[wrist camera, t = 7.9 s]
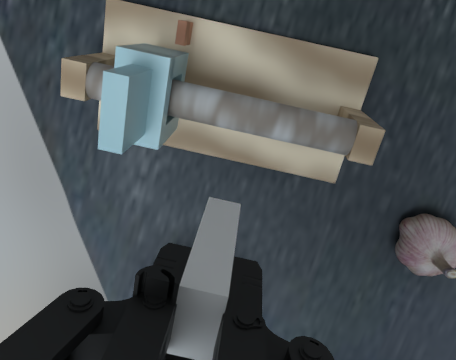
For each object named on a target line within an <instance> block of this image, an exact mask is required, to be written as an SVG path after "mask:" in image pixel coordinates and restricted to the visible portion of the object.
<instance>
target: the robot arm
mask: <svg viewBox="0 0 456 360" xmlns="http://www.w3.org/2000/svg"><path fill="white" fill-rule="evenodd" d="M240 207H241V204H239V203H234V202H230V201H225V200H221V199H217V198H212V197H209V199H208V202H207V205H206V208H205V211H204V214H203V217H202V220H201V223H200V226H199V229H198V232H197V235H196V238H195V241H194V244H193V247H192V248H190V247H186V246H181V245H177V244H172V243H168V244H167V245H165V246H164V247H163V248H161V249H160V251H159V253H158V256H157V258H156V260H155V262H154V264H153V266H148V267H145V268H143V269H141V270H139V271H138V272H137V274H136V276H135V283H134V291H133V297H131V298H129V299H126V300H122V301H104V298H103V296H102V295H101V294H100V293H99V292H97V291H96V290H93V289H90V288H76V289H72V290H69V291H67V292H65V293H63V294H62V295H60V296H59V297H58V298H57V299H55V300H54V301H53V302H51V303H50V304H49V305H48V306H47V307H45V308H44V309H43V310H42V311H40V312H39V313H38V314H37V315H35V316H34V317H33V318H32V319H30V320H29V321H28V322H26V323H25V324H24V325H23V326H22V327H20V328H19V329H18V330H16V331H15V332H14V333H13V334H11V335H10V336H9V337H8V338H7V339H5V340H4V341H3V342H2V343H0V360H165V355H166V352H167V353H168V354H172V355H176V356H181V357H185V358H189V359H194V360H334V358H333V356H332V354H331V353H330V351H329V350H328V348H327V347H326V346H324V345H323V344H322V343H321V342H319V341H317V340H315V339H313V338H311V337H305V336H300V337H296V338H294V339H293V340H291V342H288V341H286V340H284V339H282V338H280V337H278V336H277V335H275V334H274V333H272V332H271V331H270V330H269V329H268V328H267V326H266V324H265V320H264V319H263V317H262V269H261V268H260V266H259V264H258V262H256V261H252V260H247V259H243V258H238V257H234V252H235V244H236V237H237V229H238V222H239V214H240Z"/></svg>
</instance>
